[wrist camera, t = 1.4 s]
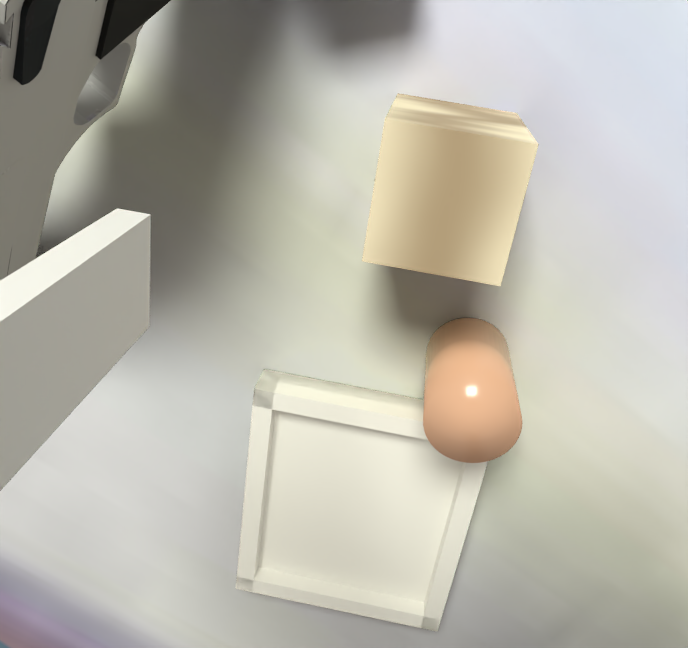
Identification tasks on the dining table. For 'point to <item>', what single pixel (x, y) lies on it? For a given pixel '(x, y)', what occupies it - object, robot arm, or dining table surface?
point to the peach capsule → (470, 392)
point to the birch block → (448, 189)
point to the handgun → (54, 98)
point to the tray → (351, 502)
